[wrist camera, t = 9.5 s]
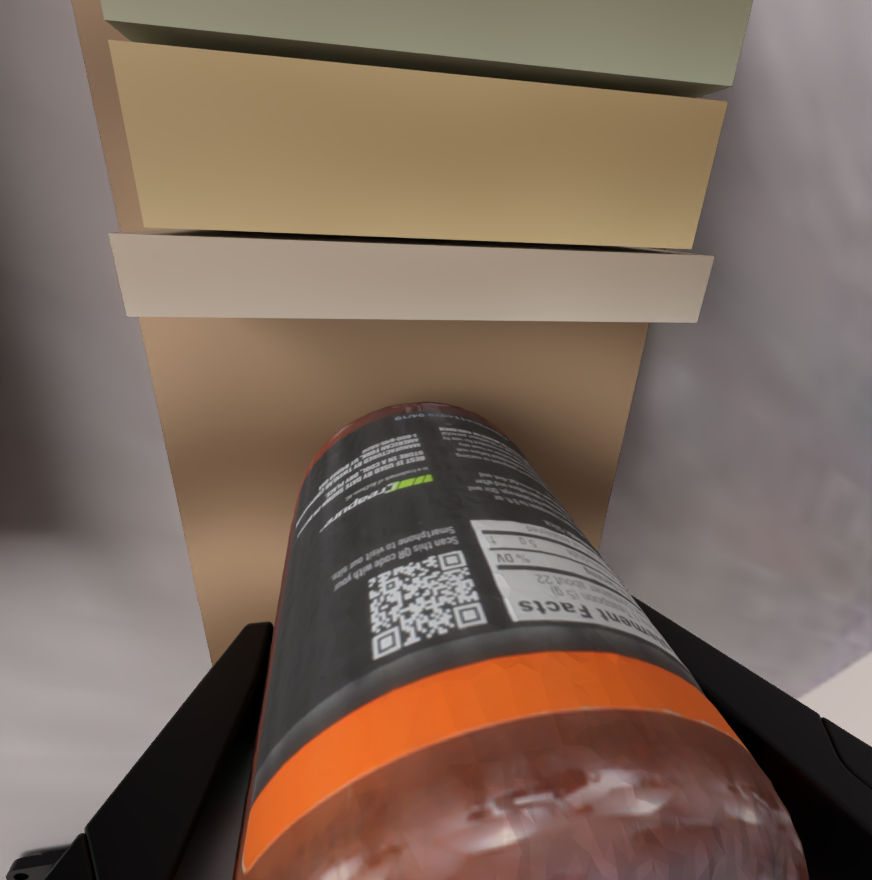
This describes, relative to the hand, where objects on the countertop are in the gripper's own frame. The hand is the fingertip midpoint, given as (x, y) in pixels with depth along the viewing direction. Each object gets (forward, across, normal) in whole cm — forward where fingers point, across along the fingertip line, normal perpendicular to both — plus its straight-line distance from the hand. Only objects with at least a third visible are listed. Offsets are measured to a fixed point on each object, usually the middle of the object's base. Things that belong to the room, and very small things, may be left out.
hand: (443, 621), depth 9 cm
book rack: (+6, 0, 0) cm, 6 cm away
